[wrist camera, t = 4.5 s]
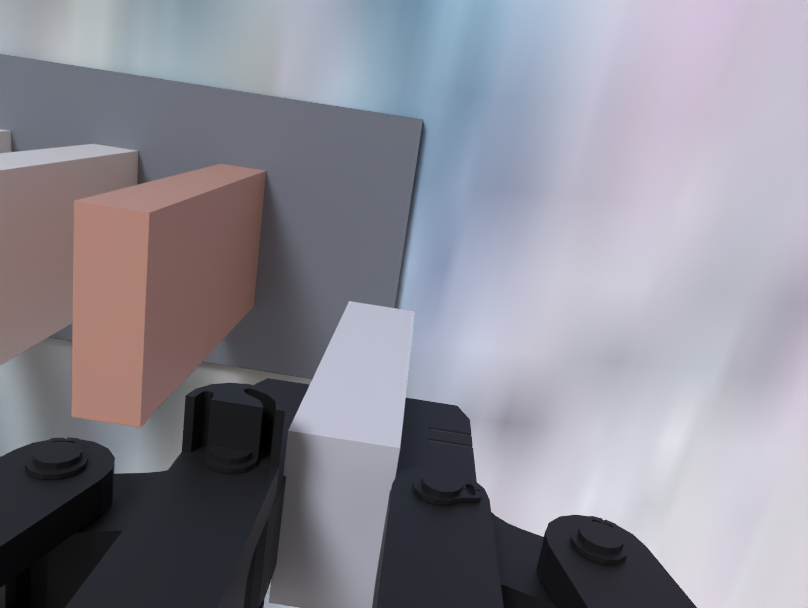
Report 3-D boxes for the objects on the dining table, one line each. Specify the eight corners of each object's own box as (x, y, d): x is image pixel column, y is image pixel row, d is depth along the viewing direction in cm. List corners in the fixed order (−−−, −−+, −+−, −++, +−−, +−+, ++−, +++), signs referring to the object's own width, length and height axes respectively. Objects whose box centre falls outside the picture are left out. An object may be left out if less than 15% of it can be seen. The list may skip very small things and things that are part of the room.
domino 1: (90, 280, 25) (-123, 386, 16) (93, 143, 24) (-139, 167, 14) (133, 287, 25) (-54, 397, 16) (138, 150, 24) (-64, 179, 14)
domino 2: (211, 299, 25) (71, 416, 16) (221, 163, 24) (74, 200, 14) (253, 306, 25) (140, 427, 16) (266, 170, 24) (149, 212, 14)
